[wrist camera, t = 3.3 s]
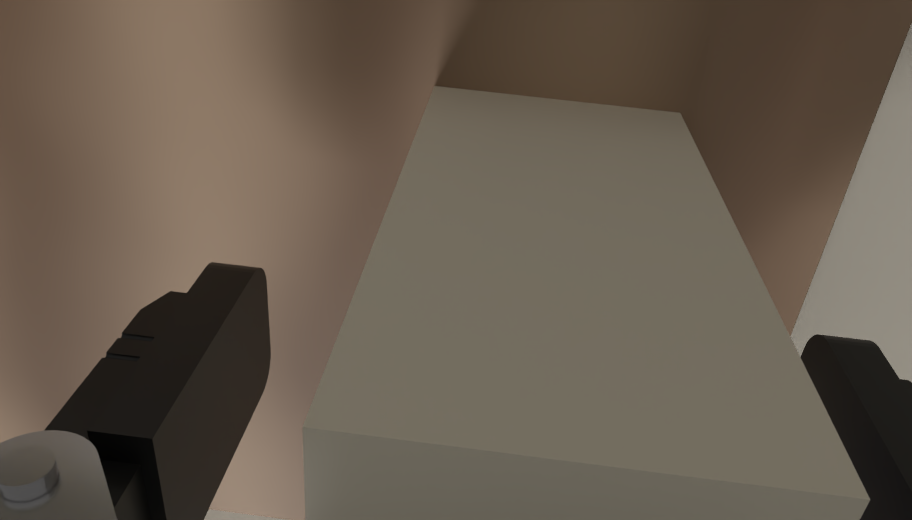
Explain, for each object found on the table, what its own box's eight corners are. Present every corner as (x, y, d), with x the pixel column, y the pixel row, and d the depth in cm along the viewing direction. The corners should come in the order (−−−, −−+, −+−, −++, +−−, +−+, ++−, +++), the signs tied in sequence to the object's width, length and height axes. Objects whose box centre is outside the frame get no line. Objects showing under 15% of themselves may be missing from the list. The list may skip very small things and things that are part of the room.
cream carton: (620, 397, 15) (690, 877, 8) (414, 371, 15) (315, 821, 8) (692, 114, 12) (900, 504, 5) (434, 85, 12) (301, 426, 5)
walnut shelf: (948, -256, 11) (1109, -287, 8) (684, 507, 19) (711, 638, 16) (-824, -415, 12) (-1295, -496, 9) (-348, 373, 20) (-506, 472, 17)
